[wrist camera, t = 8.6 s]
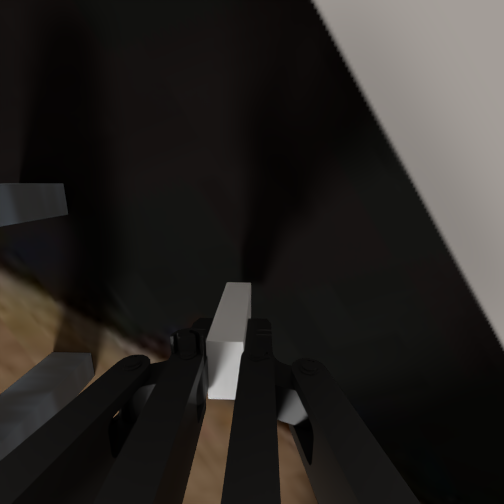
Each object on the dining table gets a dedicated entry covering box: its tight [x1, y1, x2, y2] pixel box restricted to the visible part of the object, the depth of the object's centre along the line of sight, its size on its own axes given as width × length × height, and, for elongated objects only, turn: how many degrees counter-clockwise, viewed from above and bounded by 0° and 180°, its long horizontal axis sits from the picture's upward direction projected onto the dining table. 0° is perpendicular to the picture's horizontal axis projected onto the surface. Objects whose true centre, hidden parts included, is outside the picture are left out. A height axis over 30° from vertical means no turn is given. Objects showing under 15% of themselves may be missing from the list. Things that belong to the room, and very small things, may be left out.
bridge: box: [0, 183, 95, 461], centre depth 15 cm, size 3×14×9 cm, turn 0°
